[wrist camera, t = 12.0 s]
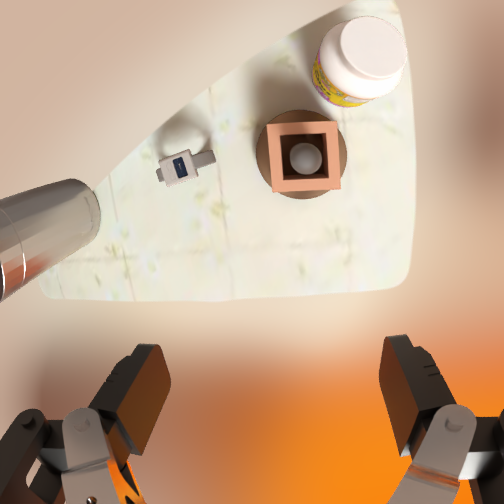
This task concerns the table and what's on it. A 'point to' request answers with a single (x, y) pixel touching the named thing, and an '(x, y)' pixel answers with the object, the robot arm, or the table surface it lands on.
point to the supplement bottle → (359, 61)
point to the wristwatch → (183, 166)
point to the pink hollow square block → (305, 181)
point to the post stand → (298, 152)
